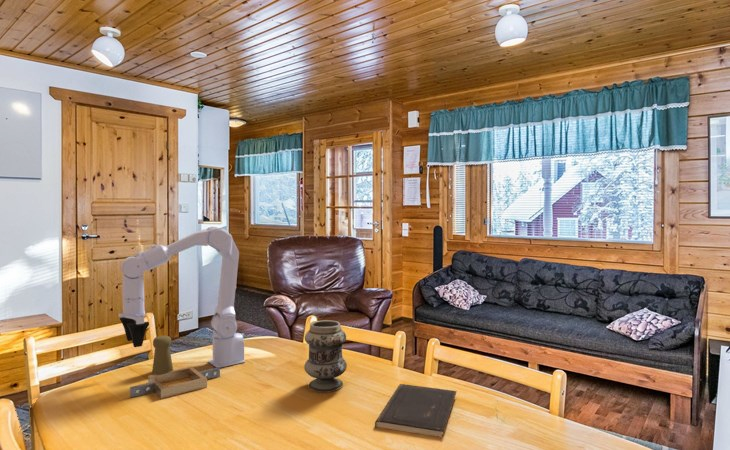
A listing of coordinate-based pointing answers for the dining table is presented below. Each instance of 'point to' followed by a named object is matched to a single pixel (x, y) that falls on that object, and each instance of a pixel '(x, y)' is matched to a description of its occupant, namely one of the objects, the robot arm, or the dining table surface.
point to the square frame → (163, 392)
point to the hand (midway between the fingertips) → (134, 343)
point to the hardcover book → (417, 410)
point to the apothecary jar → (325, 355)
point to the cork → (162, 355)
